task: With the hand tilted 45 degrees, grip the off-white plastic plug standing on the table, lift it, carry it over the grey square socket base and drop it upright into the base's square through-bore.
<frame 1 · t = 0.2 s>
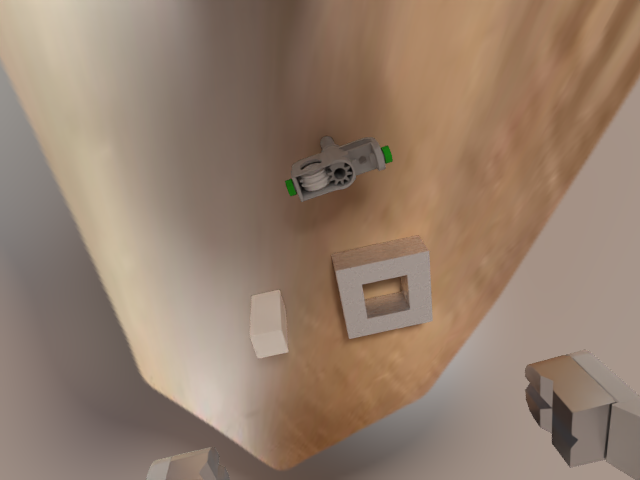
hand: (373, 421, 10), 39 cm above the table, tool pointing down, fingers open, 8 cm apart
mechanical component: (326, 142, 47), on the table
grey square socket base: (379, 279, 57), on the table
plug: (269, 303, 57), on the table
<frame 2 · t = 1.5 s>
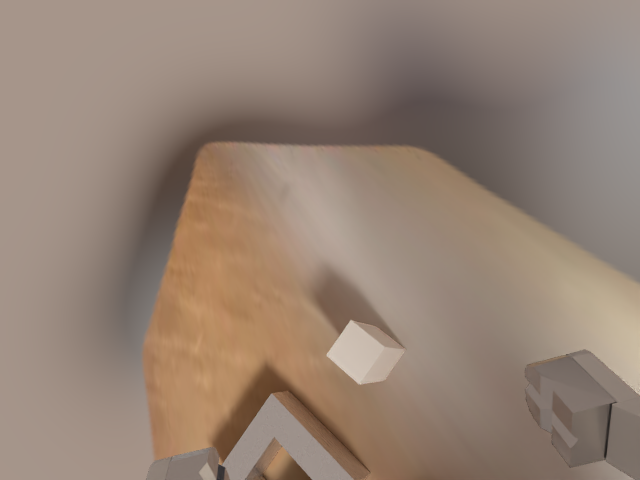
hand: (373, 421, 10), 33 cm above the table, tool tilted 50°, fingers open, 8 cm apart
grey square socket base: (295, 474, 44), on the table
plug: (380, 352, 43), on the table
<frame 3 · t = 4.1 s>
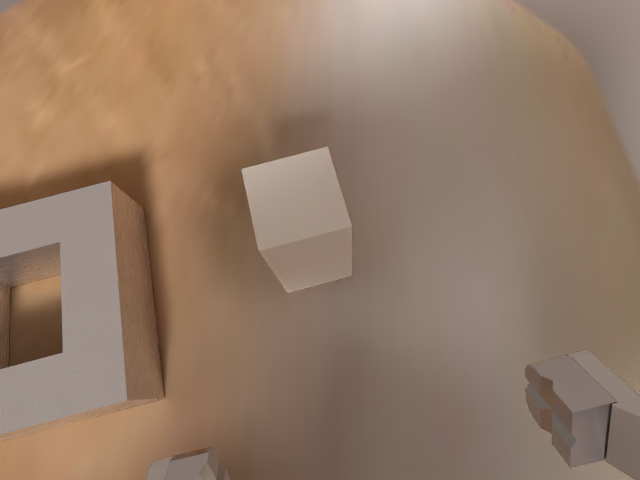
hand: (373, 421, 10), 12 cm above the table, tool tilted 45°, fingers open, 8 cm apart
grey square socket base: (57, 321, 25), on the table
plug: (311, 253, 25), on the table
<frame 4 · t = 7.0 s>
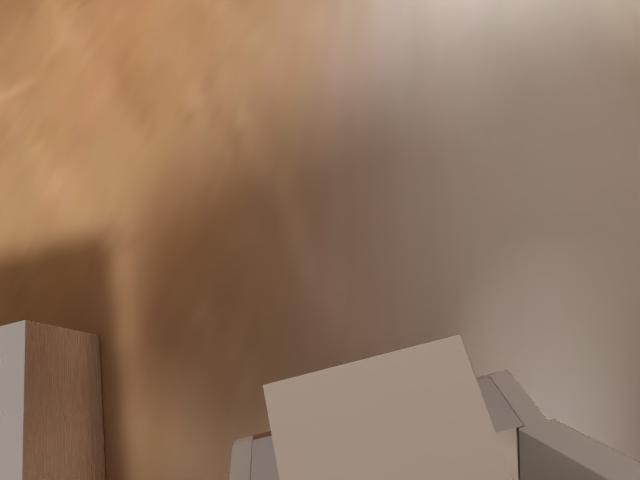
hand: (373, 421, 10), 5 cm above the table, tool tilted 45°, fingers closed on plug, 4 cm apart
plug: (373, 429, 15), on the table, touching gripper
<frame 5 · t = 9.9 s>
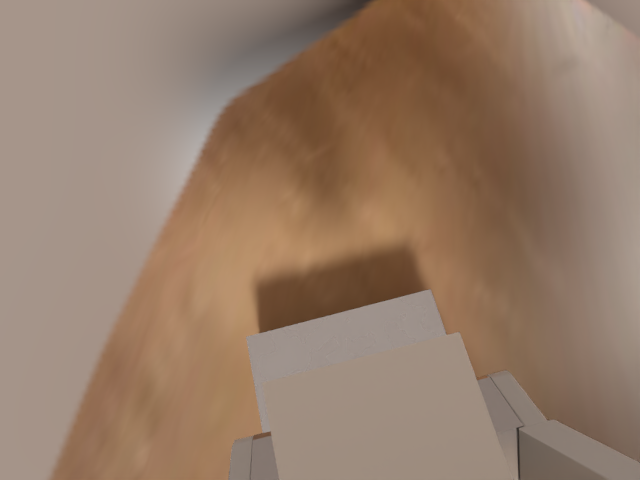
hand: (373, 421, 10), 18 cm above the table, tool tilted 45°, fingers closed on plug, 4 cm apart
grey square socket base: (363, 409, 27), on the table
plug: (373, 427, 15), point 13 cm above the table, touching gripper
when the fingers open (6 cm above the table, at t = 12.9 s): plug drops 2 cm, resting in grey square socket base.
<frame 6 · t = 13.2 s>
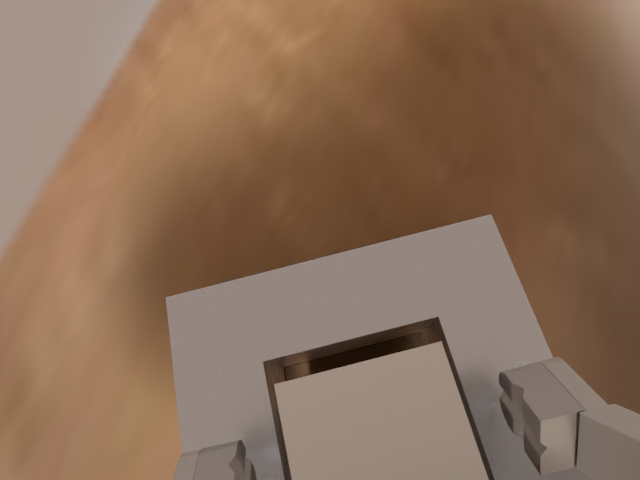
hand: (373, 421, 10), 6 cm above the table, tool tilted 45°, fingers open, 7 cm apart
grey square socket base: (371, 425, 16), on the table
plug: (370, 424, 16), resting in grey square socket base
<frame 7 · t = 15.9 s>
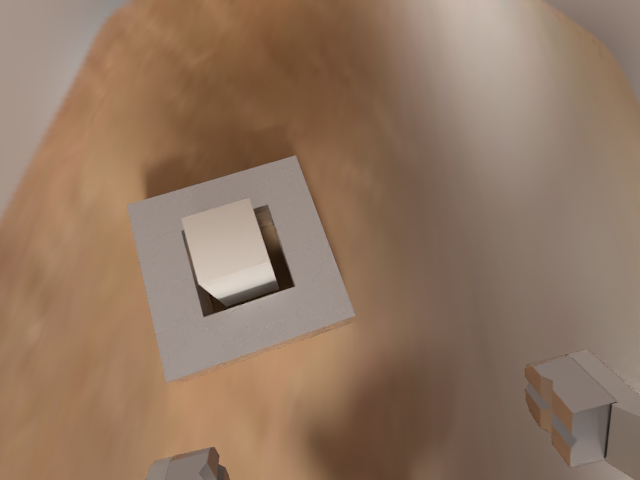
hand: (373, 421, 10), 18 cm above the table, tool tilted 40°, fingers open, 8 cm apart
grey square socket base: (246, 272, 30), on the table
plug: (245, 272, 30), resting in grey square socket base
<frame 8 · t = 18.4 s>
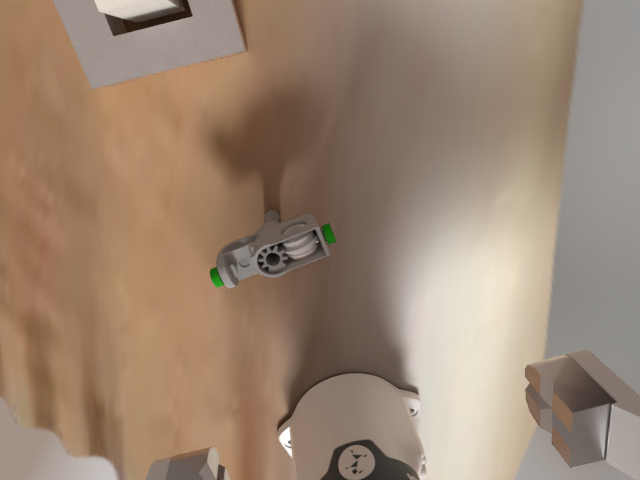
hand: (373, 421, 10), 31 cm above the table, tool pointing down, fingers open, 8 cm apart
mechanical component: (272, 216, 41), on the table
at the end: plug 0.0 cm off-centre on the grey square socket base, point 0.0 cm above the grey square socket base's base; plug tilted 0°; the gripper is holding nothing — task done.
